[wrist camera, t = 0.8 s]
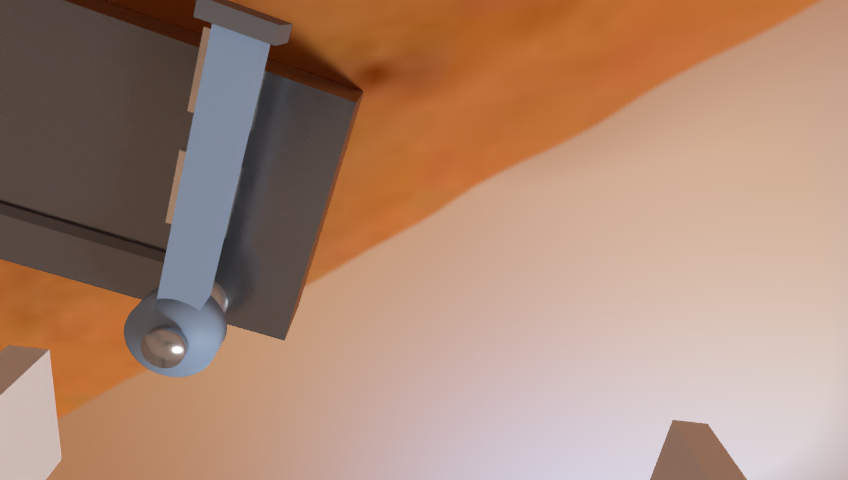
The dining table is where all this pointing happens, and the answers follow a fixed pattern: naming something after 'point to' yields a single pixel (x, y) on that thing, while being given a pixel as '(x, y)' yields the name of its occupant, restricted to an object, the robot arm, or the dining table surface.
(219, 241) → the swing bar
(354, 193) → the dining table surface
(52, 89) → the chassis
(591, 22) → the dining table surface
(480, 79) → the dining table surface
